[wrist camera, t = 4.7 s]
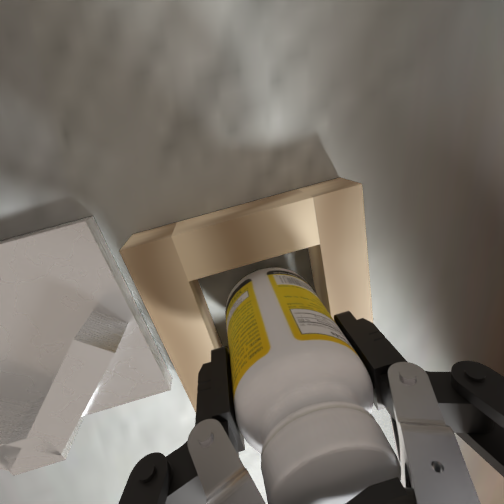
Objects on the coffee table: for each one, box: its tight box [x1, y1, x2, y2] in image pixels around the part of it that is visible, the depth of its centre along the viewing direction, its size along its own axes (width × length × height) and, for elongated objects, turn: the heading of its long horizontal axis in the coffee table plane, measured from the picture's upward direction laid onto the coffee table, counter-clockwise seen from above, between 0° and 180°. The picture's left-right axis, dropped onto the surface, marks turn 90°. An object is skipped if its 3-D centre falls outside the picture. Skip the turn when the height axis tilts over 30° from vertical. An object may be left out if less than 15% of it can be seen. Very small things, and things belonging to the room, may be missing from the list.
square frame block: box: [119, 177, 373, 412], centre depth 17 cm, size 12×12×2 cm
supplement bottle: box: [225, 267, 401, 504], centre depth 12 cm, size 5×5×10 cm
